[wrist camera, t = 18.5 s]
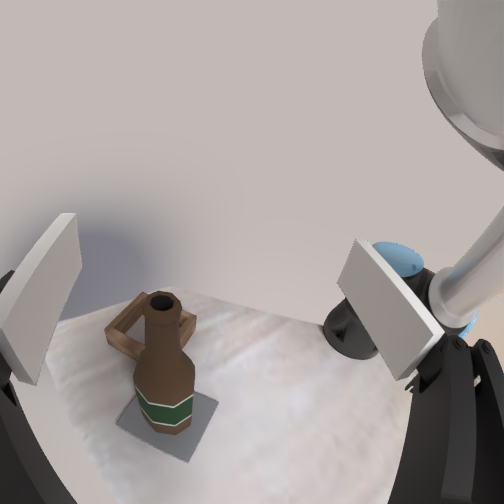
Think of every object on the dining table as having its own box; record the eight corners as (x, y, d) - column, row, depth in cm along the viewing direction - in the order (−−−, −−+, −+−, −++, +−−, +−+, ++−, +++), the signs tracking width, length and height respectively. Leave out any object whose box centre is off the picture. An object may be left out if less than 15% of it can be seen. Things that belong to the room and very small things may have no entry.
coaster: (218, 403, 40) (218, 402, 39) (188, 463, 29) (188, 462, 29) (153, 373, 42) (153, 371, 41) (116, 425, 31) (115, 423, 31)
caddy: (195, 329, 52) (196, 315, 50) (164, 374, 42) (163, 361, 40) (143, 306, 54) (142, 291, 52) (107, 343, 44) (104, 329, 42)
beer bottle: (158, 386, 39) (151, 265, 27) (201, 407, 38) (219, 294, 26) (133, 420, 33) (100, 307, 21) (179, 445, 31) (177, 350, 19)
